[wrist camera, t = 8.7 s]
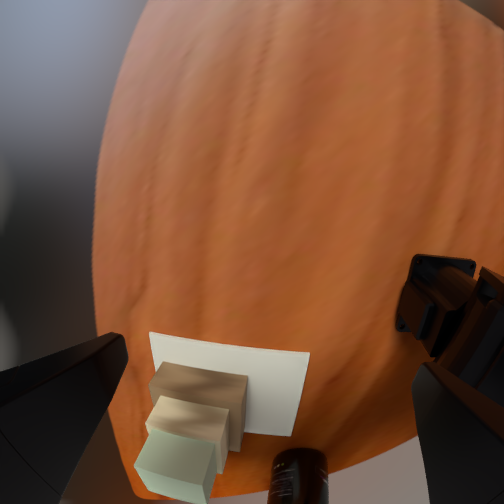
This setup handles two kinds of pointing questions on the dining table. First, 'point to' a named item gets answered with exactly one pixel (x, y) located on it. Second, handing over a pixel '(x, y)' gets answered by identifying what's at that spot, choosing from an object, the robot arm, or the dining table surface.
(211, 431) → the birch block
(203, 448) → the sage block
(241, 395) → the walnut slab
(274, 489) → the supplement bottle
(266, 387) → the grey mat
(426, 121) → the dining table surface
